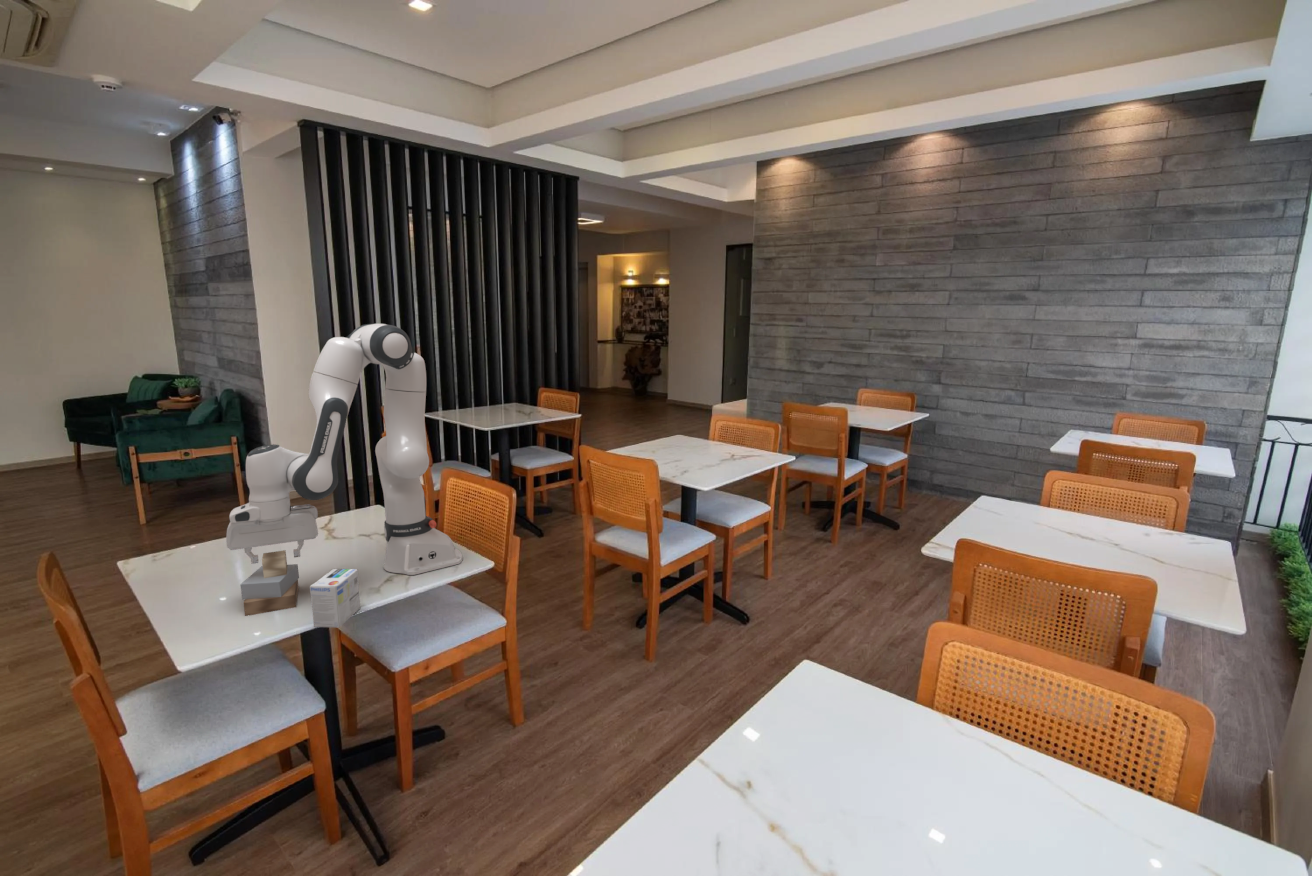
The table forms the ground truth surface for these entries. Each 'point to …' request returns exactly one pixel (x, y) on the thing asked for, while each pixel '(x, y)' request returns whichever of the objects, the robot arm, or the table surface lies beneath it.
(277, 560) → the birch cube
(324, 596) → the light bulb box
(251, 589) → the slate grey block
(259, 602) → the walnut base slab
